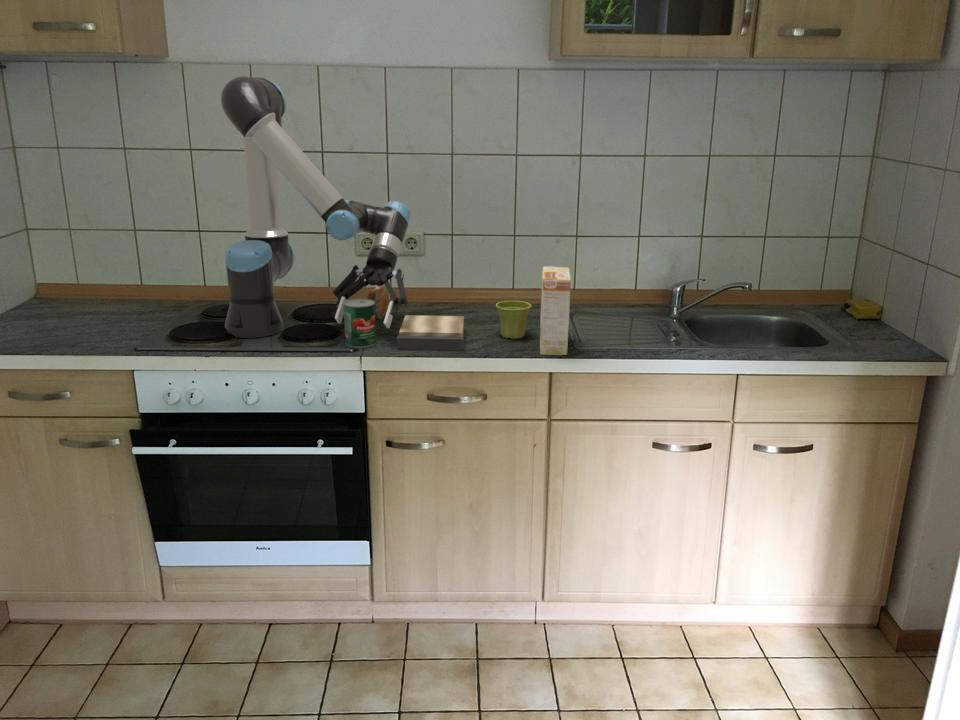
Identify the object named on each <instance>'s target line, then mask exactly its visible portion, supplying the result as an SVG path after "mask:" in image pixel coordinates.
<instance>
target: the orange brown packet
mask: <svg viewBox="0 0 960 720" xmlns="http://www.w3.org/2000/svg"><path fill="white" fill-rule="evenodd" d="M367 299H370V300H373V301H375V320H382V319H383V318H385V316H386V313H387V310H388V306H389V303H390V301H393V298H392V297H391V295H390V293H389V291H388V289H387V288H386V286H385V284H384V285H381V286H377V285H376V287H374V288H373V289H372V290H370V291H369V292H368V295H367Z"/></svg>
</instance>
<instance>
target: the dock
mask: <svg viewBox="0 0 960 720" xmlns="http://www.w3.org/2000/svg"><path fill="white" fill-rule="evenodd" d="M464 331H465V316H463V315H462V316H461V315H460V316H459V315H416V314H415V315H411V314H410V315H409V314H405V315H404V318H403V322H402V323H401V326H400V328H399V332H398V335H397V337H396V349H397V350H409V351H410V350H412V351H425V350H426V351H457V350H460V351H464Z"/></svg>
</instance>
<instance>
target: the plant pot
mask: <svg viewBox="0 0 960 720" xmlns="http://www.w3.org/2000/svg"><path fill="white" fill-rule="evenodd" d="M495 307H496V308H497V312H498V317H499V326H500V335H501V336H502V338H504V337H505V338H504V339H508V338H510V339H512V340H515V339H517V340H518V339H522V338H523V337H525V334H526V327H527V326H526V325H527V321H528V315H529V312H530V309H531V308H532V304H531V303H529V302H527V301H521V300H504V301H499V302H497V303H496V304H495Z"/></svg>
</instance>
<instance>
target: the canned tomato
mask: <svg viewBox="0 0 960 720" xmlns="http://www.w3.org/2000/svg"><path fill="white" fill-rule="evenodd" d="M343 319H344V337H345V338H344V340H345V341H344V342H345V343H344V344H346V345H347V346H346V345H345V346H346V347H348V346H350V347H349V348H351V347H354V348H353V349H366V348H371V347H373V346H375V345H376V344H377V342H376V341H377V338H376V336H377V335H376V333H377V331H376V319H375V301H373V300H370V299H368V298H352V299H351V298H349V299H347V301H345V302H344V316H343Z"/></svg>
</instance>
